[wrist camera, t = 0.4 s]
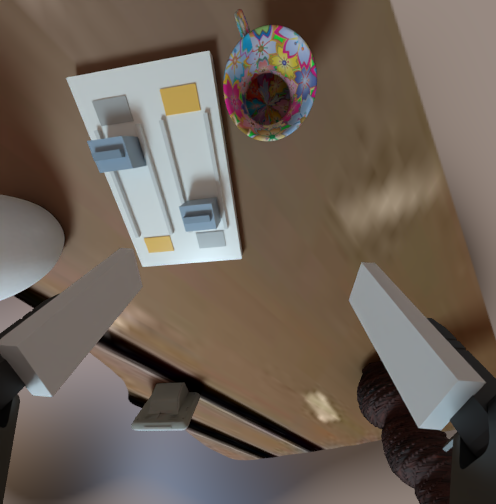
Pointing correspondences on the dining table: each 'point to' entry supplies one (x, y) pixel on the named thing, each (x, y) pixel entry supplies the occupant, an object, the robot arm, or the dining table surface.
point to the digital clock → (167, 408)
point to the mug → (269, 81)
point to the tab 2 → (200, 214)
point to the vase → (406, 438)
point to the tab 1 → (117, 153)
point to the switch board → (165, 154)
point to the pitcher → (26, 244)
